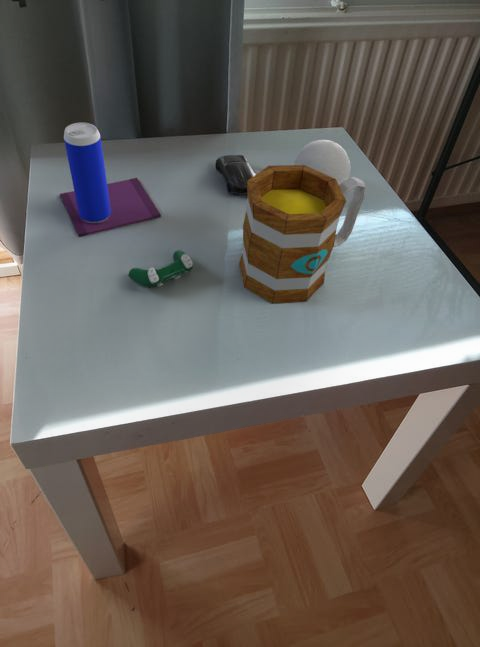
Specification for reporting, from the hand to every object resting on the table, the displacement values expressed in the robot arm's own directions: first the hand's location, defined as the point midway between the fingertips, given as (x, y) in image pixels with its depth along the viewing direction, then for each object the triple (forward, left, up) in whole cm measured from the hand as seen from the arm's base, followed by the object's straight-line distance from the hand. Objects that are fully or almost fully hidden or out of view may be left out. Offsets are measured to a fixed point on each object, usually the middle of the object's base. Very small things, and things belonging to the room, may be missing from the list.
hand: (62, 1), depth 54 cm
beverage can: (+1, +8, -34) cm, 35 cm away
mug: (+26, -16, -34) cm, 46 cm away
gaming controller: (+6, -10, -34) cm, 36 cm away
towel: (+4, +10, -34) cm, 36 cm away
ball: (+40, 0, -34) cm, 53 cm away
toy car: (+28, +9, -34) cm, 45 cm away
